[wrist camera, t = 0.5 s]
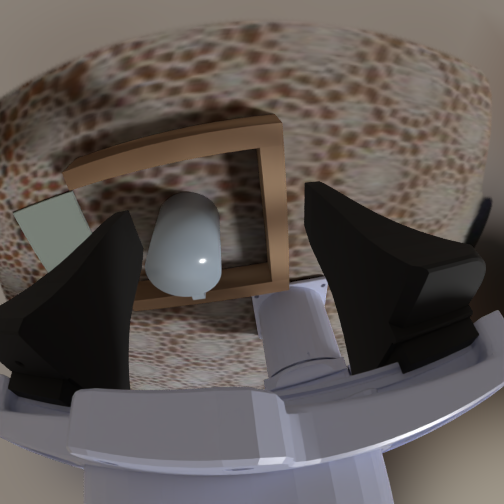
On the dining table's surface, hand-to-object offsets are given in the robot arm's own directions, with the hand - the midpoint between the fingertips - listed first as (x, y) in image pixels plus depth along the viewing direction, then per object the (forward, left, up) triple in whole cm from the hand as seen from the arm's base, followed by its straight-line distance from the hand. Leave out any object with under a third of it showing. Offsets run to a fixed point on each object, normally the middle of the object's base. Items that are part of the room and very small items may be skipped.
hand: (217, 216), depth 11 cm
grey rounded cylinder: (-6, +3, -10) cm, 12 cm away
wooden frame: (-6, +3, -10) cm, 12 cm away
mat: (-7, +16, -10) cm, 20 cm away
